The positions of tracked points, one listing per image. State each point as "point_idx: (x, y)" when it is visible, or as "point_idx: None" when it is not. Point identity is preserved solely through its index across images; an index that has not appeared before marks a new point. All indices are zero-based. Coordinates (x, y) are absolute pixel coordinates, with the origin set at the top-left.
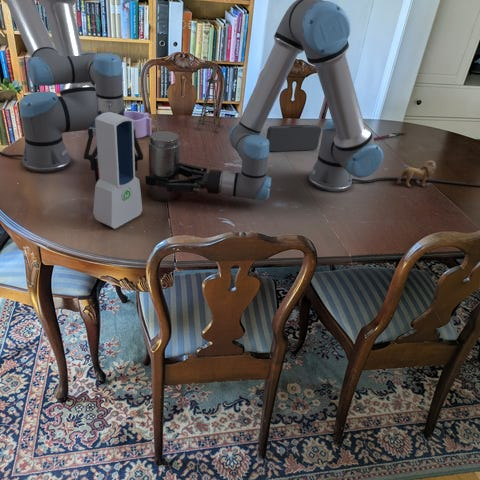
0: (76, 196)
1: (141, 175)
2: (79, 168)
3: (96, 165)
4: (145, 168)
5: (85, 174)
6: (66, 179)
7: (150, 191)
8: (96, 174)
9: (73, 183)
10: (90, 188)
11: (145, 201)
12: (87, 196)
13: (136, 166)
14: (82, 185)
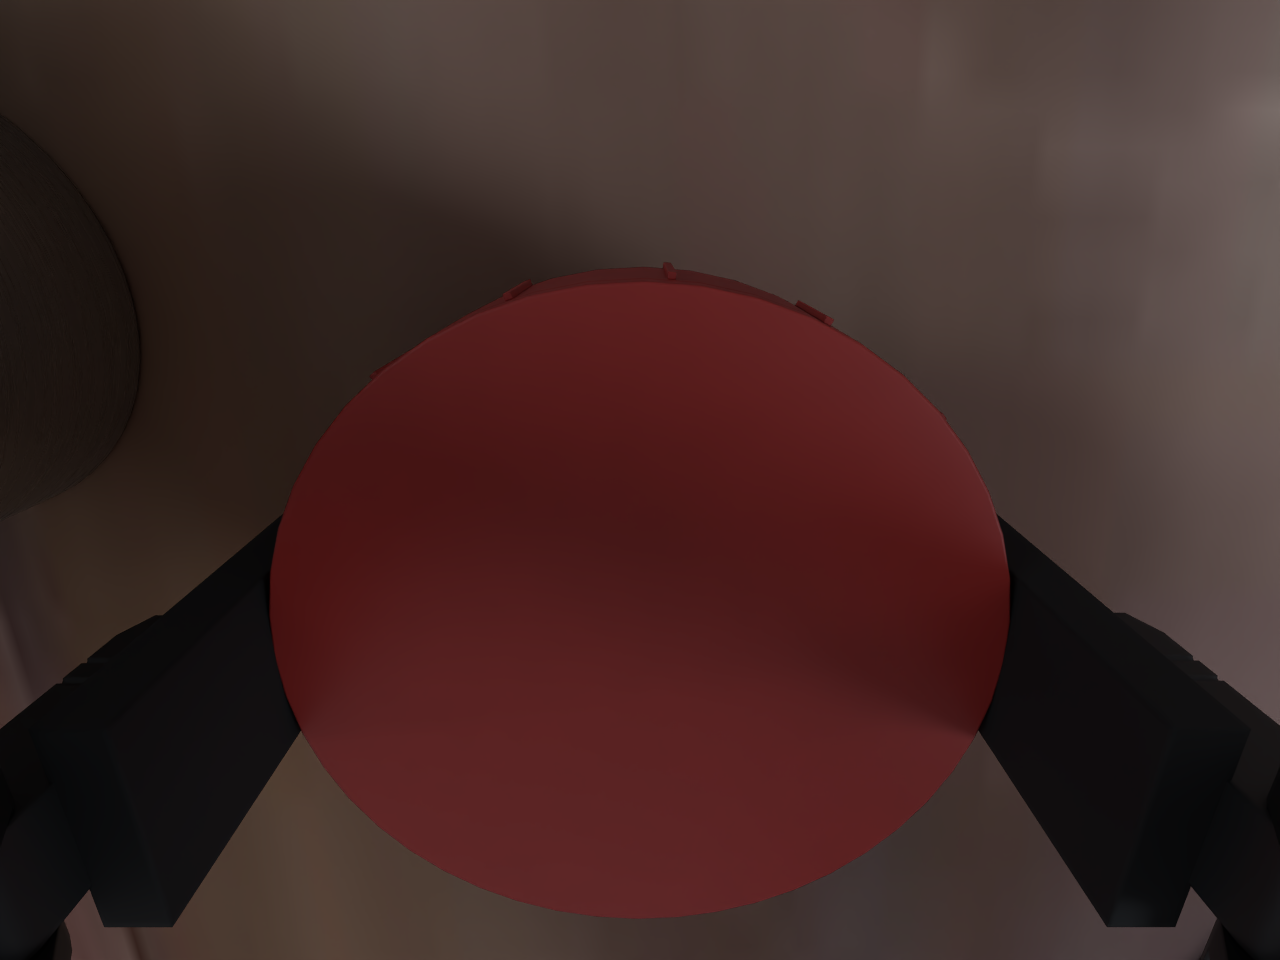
0: (1209, 220)
1: (351, 811)
2: (1066, 942)
3: (1106, 660)
4: (334, 956)
5: (1013, 822)
6: (1256, 705)
7: (13, 207)
8: None
9: (1188, 608)
10: (982, 475)
11: (137, 42)
12: (1046, 222)
13: (83, 681)
14: (1080, 557)
